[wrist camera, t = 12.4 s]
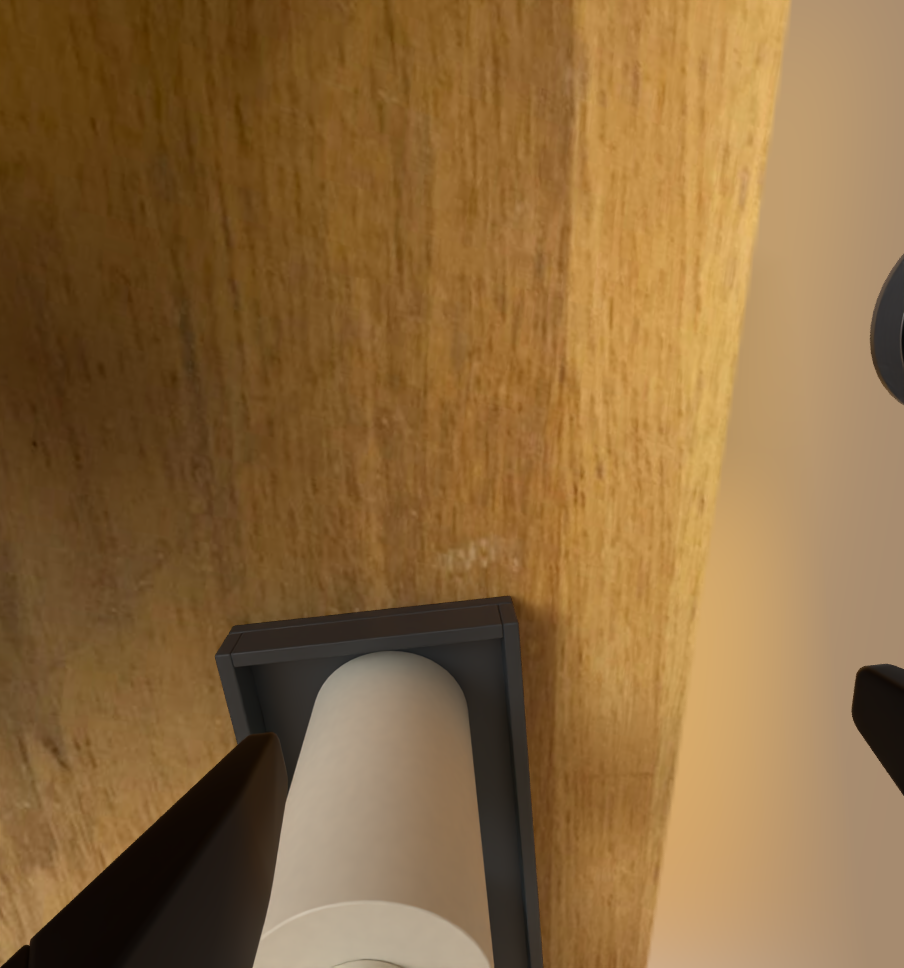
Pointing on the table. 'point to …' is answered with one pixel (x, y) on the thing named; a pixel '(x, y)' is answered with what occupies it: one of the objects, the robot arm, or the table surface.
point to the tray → (491, 708)
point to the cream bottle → (381, 828)
